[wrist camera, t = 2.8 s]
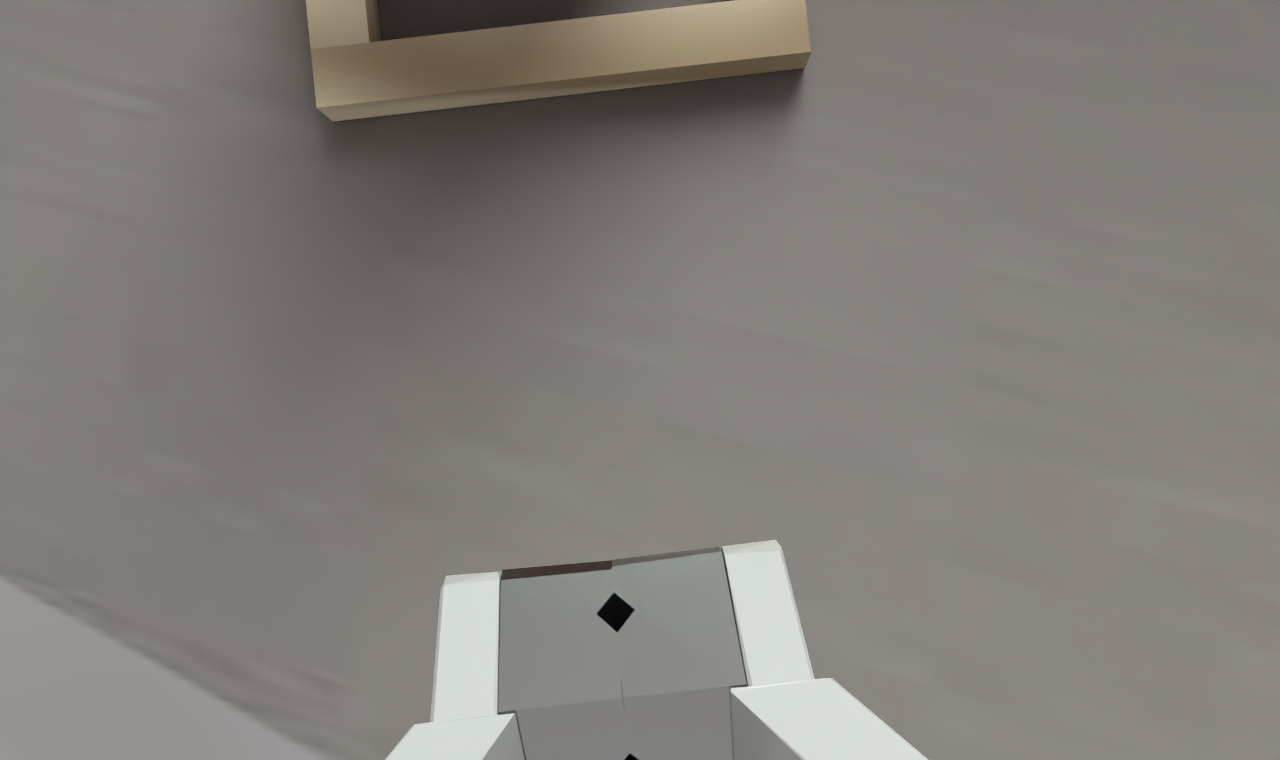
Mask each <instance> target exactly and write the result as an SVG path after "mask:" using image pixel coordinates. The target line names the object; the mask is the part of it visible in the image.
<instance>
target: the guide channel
mask: <svg viewBox="0 0 1280 760" xmlns="http://www.w3.org/2000/svg"><path fill="white" fill-rule="evenodd" d="M306 9H307V19H308V28H309V38H310V48H311V58H312V68H313V78H314V87H315V97H316V107H317V109H318V110H320V111H321V112H322V113H323V114H324V115H326V116H327V117H328V118H329V119H330V120H332V121H333V122H334V121H343V120H352V119H361V118H369V117H378V116H387V115H396V114H405V113H414V112H422V111H431V110H440V109H449V108H458V107H467V106H475V105H484V104H493V103H502V102H511V101H519V100H528V99H537V98H546V97H555V96H564V95H572V94H581V93H590V92H599V91H608V90H617V89H625V88H634V87H643V86H652V85H661V84H669V83H678V82H687V81H696V80H705V79H714V78H722V77H731V76H740V75H749V74H758V73H767V72H775V71H784V70H793V69H802V68H805V66H806V63H807V61H808V58H809V56H810V53H811V46H810V37H809V28H808V19H807V10H806V1H805V0H734V1H725V2H717V3H708V4H699V5H691V6H682V7H673V8H664V9H656V10H647V11H638V12H630V13H621V14H612V15H603V16H595V17H586V18H577V19H569V20H560V21H551V22H542V23H534V24H525V25H516V26H508V27H499V28H490V29H481V30H473V31H464V32H455V33H447V34H438V35H429V36H420V37H412V38H403V39H394V40H386V41H381V31H380V22H379V12H378V2H377V0H306Z"/></svg>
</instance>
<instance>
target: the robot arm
mask: <svg viewBox="0 0 1280 760" xmlns="http://www.w3.org/2000/svg"><path fill="white" fill-rule="evenodd" d="M385 760H928V759H927V758H926V757H925V756H923V755H922V754H921V753H920V752H919V751H917V750H916V749H915V748H914V747H913V746H912V745H910V744H909V743H908V742H907V741H906V740H904V739H903V738H902V737H901V736H900V735H899V734H897V733H896V732H895V731H894V730H893V729H891V728H890V727H889V726H888V725H887V724H886V723H884V722H883V721H882V720H881V719H880V718H878V717H877V716H876V715H875V714H874V713H873V712H871V711H870V710H869V709H868V708H867V707H865V706H864V705H863V704H862V703H861V702H860V701H858V700H857V699H856V698H855V697H854V696H852V695H851V694H850V693H849V692H848V691H847V690H845V689H844V688H843V687H842V686H841V685H839V684H838V683H837V682H836V681H835V680H834V679H832V678H823V679H814V675H813V671H812V667H811V663H810V659H809V655H808V651H807V647H806V643H805V639H804V635H803V631H802V627H801V623H800V619H799V615H798V611H797V607H796V603H795V599H794V595H793V591H792V587H791V583H790V579H789V575H788V571H787V567H786V563H785V559H784V555H783V551H782V547H781V546H780V545H779V544H778V542H777V541H776V540H770V541H762V542H753V543H745V544H737V545H729V546H722V547H721V550H720V548H719V547H715V548H707V549H699V550H690V551H682V552H673V553H665V554H657V555H648V556H640V557H631V558H623V559H615V560H612V561H600V562H588V563H577V564H565V565H553V566H542V567H530V568H519V569H507V570H503V571H501V572H488V573H475V574H462V575H450V576H446V577H445V580H444V582H443V585H442V587H441V591H440V604H439V617H438V630H437V643H436V656H435V668H434V681H433V694H432V707H431V720H430V722H428V723H421V724H414V725H413V726H412V727H411V728H410V729H409V731H408V732H407V733H406V734H405V736H404V737H403V738H402V739H401V740H400V742H399V743H398V744H397V745H396V747H395V748H394V749H393V750H392V751H391V753H390V754H389V755H388V756H387V758H386V759H385Z"/></svg>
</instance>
